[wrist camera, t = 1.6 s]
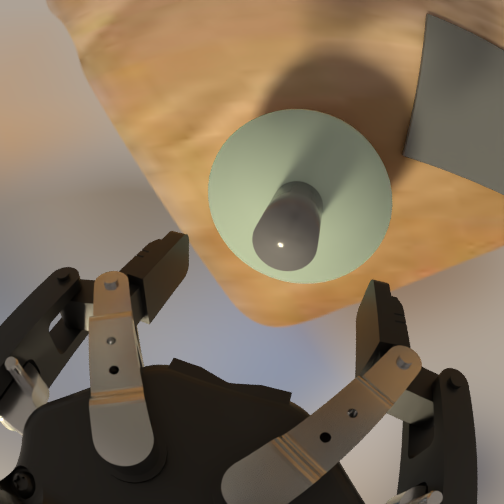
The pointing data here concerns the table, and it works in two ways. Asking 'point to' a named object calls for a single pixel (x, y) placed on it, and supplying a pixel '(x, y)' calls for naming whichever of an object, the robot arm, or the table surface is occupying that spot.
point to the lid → (300, 196)
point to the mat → (459, 105)
